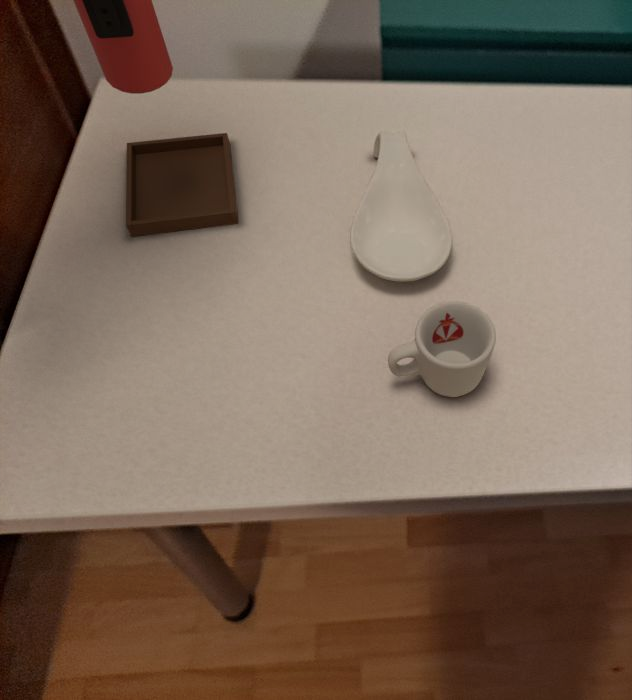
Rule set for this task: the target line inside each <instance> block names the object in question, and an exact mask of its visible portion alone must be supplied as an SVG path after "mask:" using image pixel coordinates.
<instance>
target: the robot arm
mask: <svg viewBox="0 0 632 700" xmlns="http://www.w3.org/2000/svg"><path fill="white" fill-rule="evenodd" d="M82 1H83V4H84V6H85V9H86V11H87V14H88V16H89V19H90V21H91V24H92V26H93V29H94V31H95V34H96V36H97V37H98V38H102V39H103V38H117V37H131V36H133V34H134V29H133V26H132V23H131V21H130V18H129V15H128V12H127V9H126V6H125V4H124V1H123V0H82Z"/></svg>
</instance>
